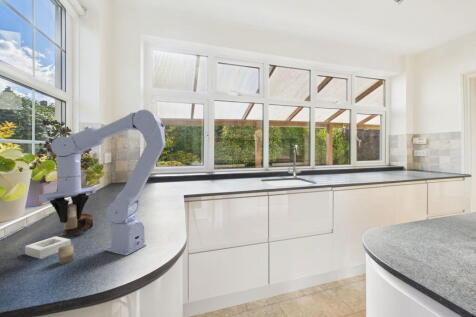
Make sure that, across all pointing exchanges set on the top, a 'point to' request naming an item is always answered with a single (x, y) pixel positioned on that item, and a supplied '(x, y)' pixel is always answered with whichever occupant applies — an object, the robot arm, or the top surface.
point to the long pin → (71, 217)
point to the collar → (46, 247)
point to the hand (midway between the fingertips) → (70, 220)
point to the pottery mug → (80, 225)
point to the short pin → (66, 254)
